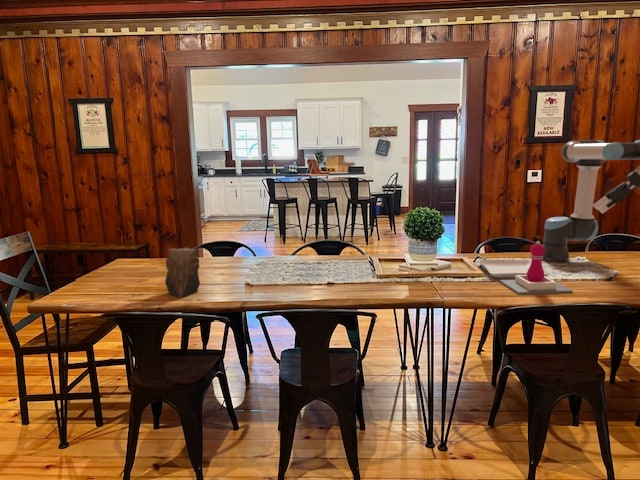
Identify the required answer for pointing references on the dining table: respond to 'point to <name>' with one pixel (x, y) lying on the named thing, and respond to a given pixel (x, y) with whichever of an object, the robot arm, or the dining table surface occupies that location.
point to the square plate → (507, 267)
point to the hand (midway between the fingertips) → (597, 209)
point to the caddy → (534, 286)
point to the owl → (182, 272)
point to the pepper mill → (536, 263)
